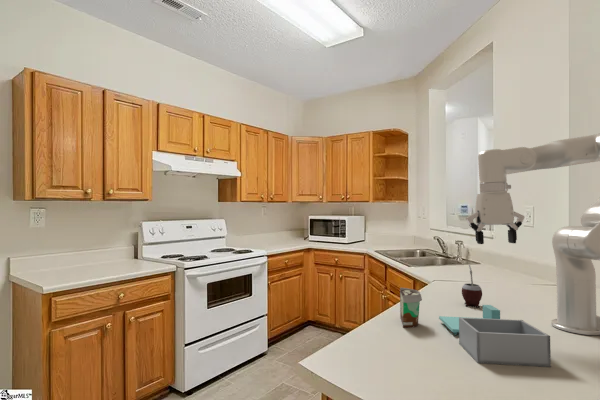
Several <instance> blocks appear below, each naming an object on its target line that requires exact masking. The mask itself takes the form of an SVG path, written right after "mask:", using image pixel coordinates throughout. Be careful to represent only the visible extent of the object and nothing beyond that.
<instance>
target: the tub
mask: <svg viewBox="0 0 600 400" xmlns="http://www.w3.org/2000/svg"><path fill="white" fill-rule="evenodd" d="M458 317H459V332H458V335H459V336H458V339H459V342H458V344H459V345H460V346H461V347H462V348H463V349H464V351H465V352H467V354H469V356H470V357H472V359H474V361H475V362H476V363H477V364H492V365H505V366H509V365H510V366H523V367H524V366H526V367H527V366H528V367H546V368H551V367H552V366H551V365H552V363H551V362H552V360H551V359H552V358H551V357H552V356H551V355H552V354H551V336H550V335H549V334H548V333H545V332H544V331H542V330H540V329H538V328H536V327H535V326H534V325H532V324H530V323H528V322H526V321H524V320H522V319H510V318H509V319H506V318H505V319H504V318H503V319H502V318H500V319H485V318H483V317H470V318H461V317H462V316H458Z"/></svg>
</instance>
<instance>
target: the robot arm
mask: <svg viewBox="0 0 600 400" xmlns="http://www.w3.org/2000/svg"><path fill="white" fill-rule="evenodd" d="M477 160H478V162H477V163H478V178H479V193H477V194H476V198H475V199H476V200H475V212H474V213H471V214H470V215H469V216H467V217H465V220H466V222H467V223H468V225H469V227H470V228H471V229H473V231H474V232H475V235H474V236H475V241H476V243H477V244H478V245H484V244H485V241H484V239H485V237H484V231H483V229H484V227H485V226H498V225H500V226H502V225H505V226H506V227H507V228H508V230H507V240H508V243H509V244H517V240H518V239H517V238H518V235H517V231H518V230H519V228H520V226H522V224H523V222H524V220H525V215H523V214H520V213H518V212H516V211H514V206H513V205H514V203H513V200H512V197H511V193H510V192H508V191H509V190H511V189H512V185H511V184H508V180H507V175H510V174H511V175H512V174H518V173H525V172H530V171H537V170H547V169H548V170H549V169H557V168H564V167H569V166H577V165H582V164H590V163H595V162H600V133H596V134H590V135H585V136H584V135H583V136H579V137H572V138H565V139H558V140H555V141H551V142H546V143H544V144H540V145H538V146H537V145H536V146H534V147H525V146H524V147H523V146H519V147H512V148H507V149H500V148H495V149H494V148H493V149H485V150H482V151H480V152H479V153H478V156H477ZM580 216H581V217H580V224H581V225H568V226H567V225H566V226H563V227H561V228H559V229H557V230H556V231H555V232H554V234H553V236H552V240H551V245H552V248H553V253H554V256H555V257H554V259H555V266H556V267H555V268H556V269H555V270H556V276H555V277H556V316H557V318H555V319H554V318H553V319H552V320H550V321H551V323H550V324H551V325H552V326H553V327H554V328H555V329H558V330H561V331H564V332H569V333H572V334H577V335H579V334H580V335H587V336H600V316H599V315H597V286H596V285H597V284H596V283H597V282H596V281H597V280H596V278H597V277H596V268H595V265H594V262H593V261H600V197H599V198H598V199H596V200H595V201H594V202H593V203H592V204H591V205H589V206H588V207H587V208H586V209H585V210H584V211H583V212H582V214H581V215H580ZM515 218H516V221H515ZM474 219H475V222H474Z"/></svg>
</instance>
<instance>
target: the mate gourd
mask: <svg viewBox="0 0 600 400" xmlns="http://www.w3.org/2000/svg"><path fill="white" fill-rule="evenodd" d="M468 268H469V276H470V283H464V284H463V285H462V287H461V296H462V298H463V300H464V305H465V307H467V308H469V307H474V308H477V309H480V302H481V300H482V299H483V298H482V297H483V290H482V287H481V286H480V285H479V284H476V283H474V282H473V271H472V268H471V264H468Z"/></svg>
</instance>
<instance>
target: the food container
mask: <svg viewBox="0 0 600 400" xmlns="http://www.w3.org/2000/svg"><path fill="white" fill-rule="evenodd" d="M422 297H423V296H422V294H421V292H420V290H419V291H418V290H416V289H413V288H408V287H400V288H399V298H400V301H399V302H400V305H399V308H400V309H399V310H400V311H399V312H400V314H399V315H400V316H399V319H400V322H401V326H402V328H404V329H405V328H406V329H407V328H408V329H411V328H412V329H413V328H416V327H418V326H419V319H420V318H419V316H420V303H421V301H422V300H423V298H422Z"/></svg>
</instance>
